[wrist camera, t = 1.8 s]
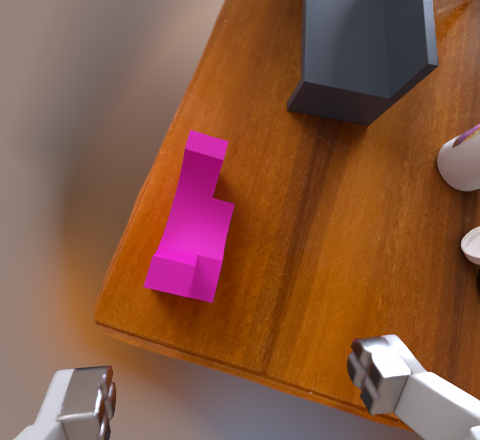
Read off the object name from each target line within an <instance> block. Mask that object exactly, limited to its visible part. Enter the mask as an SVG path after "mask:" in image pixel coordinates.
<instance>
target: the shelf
mask: <svg viewBox="0 0 480 440" xmlns="http://www.w3.org/2000/svg"><path fill="white" fill-rule="evenodd" d="M437 67H438V57H437V46H436V35H435V25H434V14H433V4H432V0H303V17H302V54H301V80H300V82H299V83H298V85H297V87H296V88H295V90H294V92H293V93H292V95H291V97H290V98H289V100H288V102H287V111H293V112H298V113H304V114H309V115H315V116H320V117H326V118H331V119H336V120H342V121H347V122H353V123H358V124H364V125H370V124H371V123H372V122H374V121H375V120H376V119H377V118H378V117H379V116H381V115H382V114H383V113H384V112H385V111H386V110H388V109H389V108H390V107H391V106H392V105H393V104H395V103H396V102H397V101H398V100H399V99H401V98H402V97H403V96H404V95H405V94H406V93H408V92H409V91H410V90H411V89H412V88H413V87H415V86H416V85H417V84H418V83H419V82H420V81H422V80H423V79H424V78H425V77H426V76H427V75H429V74H430V73H431V72H432V71H433V70H434V69H436V68H437Z"/></svg>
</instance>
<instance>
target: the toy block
mask: <svg viewBox="0 0 480 440" xmlns="http://www.w3.org/2000/svg"><path fill="white" fill-rule="evenodd" d="M227 145H228V141H225V140H222V139H218V138H215V137H212V136H209V135H205V134H202V133H199V132H195V131H192V130H190V133H189V137H188V140H187V143H186V147H185V152H184V158H183V164H182V169H181V173H180V178H179V182H178V186H177V190H176V194H175V198H174V201H173V205H172V208H171V212H170V215H169V218H168V222H167V225H166V228H165V231H164V234H163V237H162V239H161V242H160V244H159V247H158V249H157V251H156V253H155V255H153V257H152V261H151V264H150V267H149V271H148V274H147V277H146V281H145V284H144V287H145V288H149V289H154V290H158V291H162V292H167V293H171V294H175V295H180V296H184V297H189V298H194V299H198V300H202V301H207V302H211V303H213V299H214V295H215V291H216V287H217V282H218V278H219V274H220V270H221V266H222V261H223V254H224V247H225V242H226V237H227V233H228V228H229V224H230V220H231V216H232V213H233V209H234V206H235V204H232V203H229V202H225V201H222V200H218V199H215V198H212V197H213V193H214V190H215V186H216V183H217V179H218V176H219V173H220V170H221V166H222V163H223V160H224V157H225V153H226V149H227Z"/></svg>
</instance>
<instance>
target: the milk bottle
mask: <svg viewBox="0 0 480 440" xmlns="http://www.w3.org/2000/svg"><path fill="white" fill-rule="evenodd" d="M437 165H438V170H439V172H440V174H441V176H442V178H443V179H444V180H445V181H446V183H448V184H449V185H450V186H451V187H453V188H455V189H457V190H461V191H473V190H476V189H480V124H479V125H478V126H476V127H474V128H472V129H470V130H468V131H467V132H465V133H463V134H461V135H459V136H458V137H456V138H454V139H452V140H451V141H449V142H447V143H446V144H444V145H443V146H442V148H441V149H440V151H439V153H438V156H437Z"/></svg>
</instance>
